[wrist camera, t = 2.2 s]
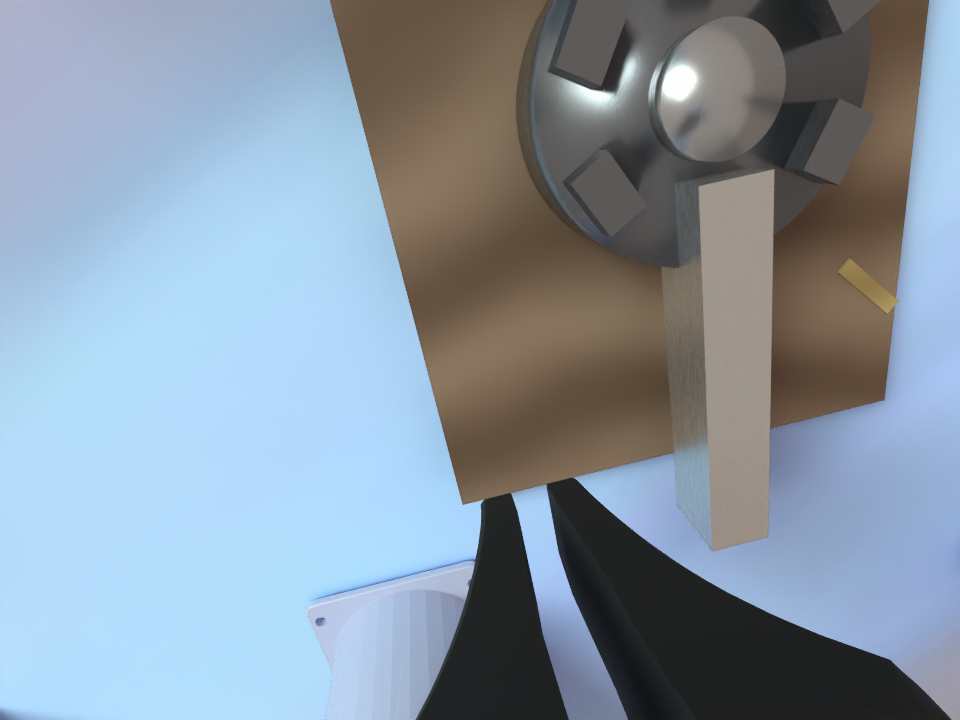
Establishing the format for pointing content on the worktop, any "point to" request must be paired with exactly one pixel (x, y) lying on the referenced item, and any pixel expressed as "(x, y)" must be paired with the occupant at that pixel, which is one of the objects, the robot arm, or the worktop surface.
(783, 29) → the handled metal disc
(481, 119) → the walnut base
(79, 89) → the worktop surface
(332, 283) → the worktop surface
